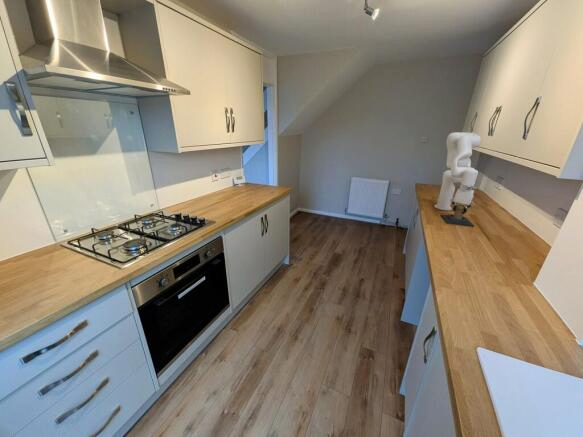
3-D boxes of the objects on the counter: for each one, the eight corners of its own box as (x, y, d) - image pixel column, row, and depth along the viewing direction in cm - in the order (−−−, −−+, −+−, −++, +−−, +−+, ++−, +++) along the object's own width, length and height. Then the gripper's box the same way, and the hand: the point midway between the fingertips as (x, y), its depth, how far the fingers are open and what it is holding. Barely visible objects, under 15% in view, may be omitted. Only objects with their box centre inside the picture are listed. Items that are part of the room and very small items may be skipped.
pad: (441, 215, 181) (442, 212, 180) (465, 218, 176) (466, 214, 175) (446, 223, 166) (448, 219, 165) (473, 226, 162) (474, 222, 161)
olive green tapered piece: (463, 221, 168) (467, 206, 163) (453, 220, 169) (458, 206, 165) (459, 218, 173) (463, 204, 169) (450, 217, 174) (454, 203, 170)
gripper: (482, 189, 159) (474, 214, 165) (453, 184, 170) (447, 208, 177) (480, 191, 154) (471, 216, 161) (450, 185, 165) (443, 210, 172)
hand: (459, 212), depth 169 cm, fingers closed on olive green tapered piece, 5 cm apart
